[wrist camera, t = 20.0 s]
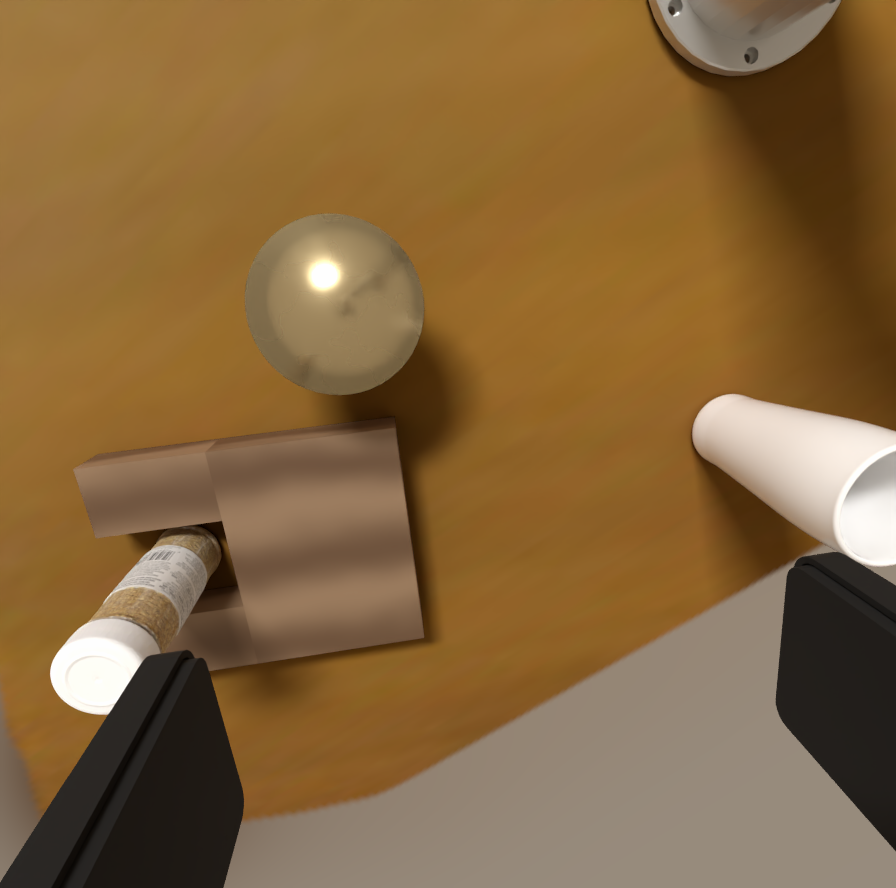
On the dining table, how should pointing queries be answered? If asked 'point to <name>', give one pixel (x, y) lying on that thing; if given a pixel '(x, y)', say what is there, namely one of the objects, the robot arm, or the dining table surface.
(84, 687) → the sprinkles bottle
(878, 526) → the drinking glass
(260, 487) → the notched board
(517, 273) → the dining table surface
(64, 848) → the robot arm
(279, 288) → the bobbin
